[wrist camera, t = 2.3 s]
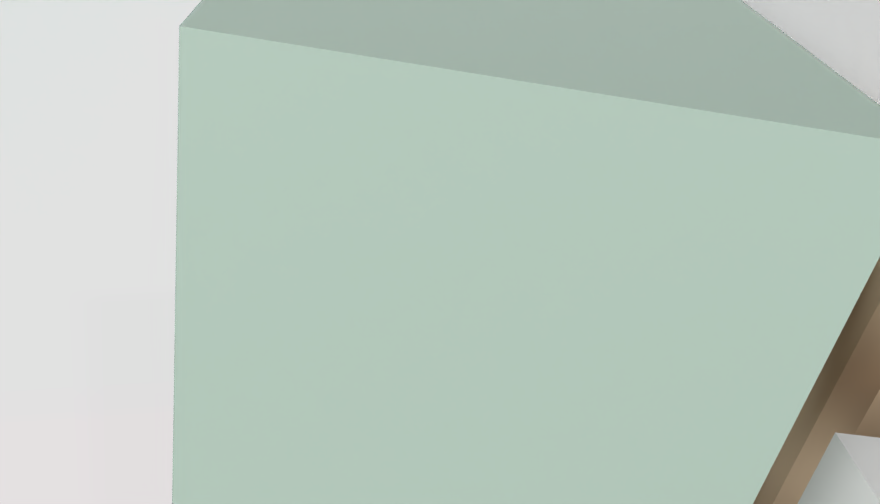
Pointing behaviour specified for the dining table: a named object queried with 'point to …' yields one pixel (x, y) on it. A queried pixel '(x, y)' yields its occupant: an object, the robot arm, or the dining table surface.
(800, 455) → the brown shallow square tray
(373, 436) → the mint green panel
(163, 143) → the dining table surface
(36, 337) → the dining table surface
